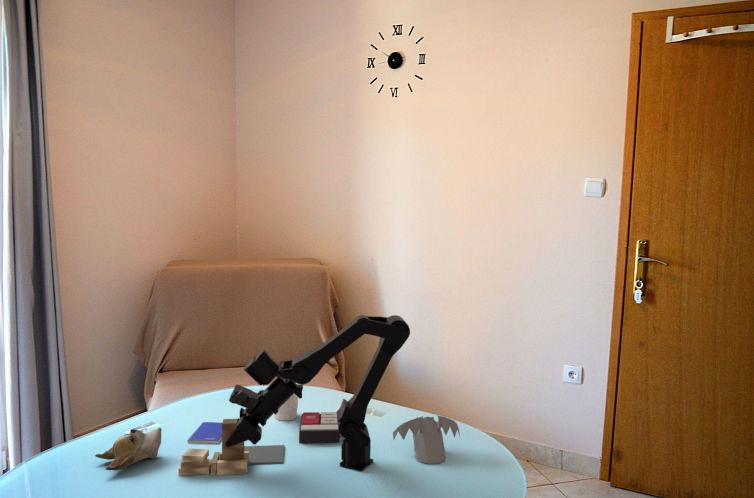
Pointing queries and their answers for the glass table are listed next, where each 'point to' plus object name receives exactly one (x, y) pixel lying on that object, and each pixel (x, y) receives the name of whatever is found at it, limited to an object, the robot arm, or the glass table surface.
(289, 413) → the white cup
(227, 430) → the walnut block
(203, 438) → the hard drive
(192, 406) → the glass table surface
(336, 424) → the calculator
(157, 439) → the ceramic sculpture
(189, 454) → the offcut stack
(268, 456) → the charcoal mat
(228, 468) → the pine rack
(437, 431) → the figurine
